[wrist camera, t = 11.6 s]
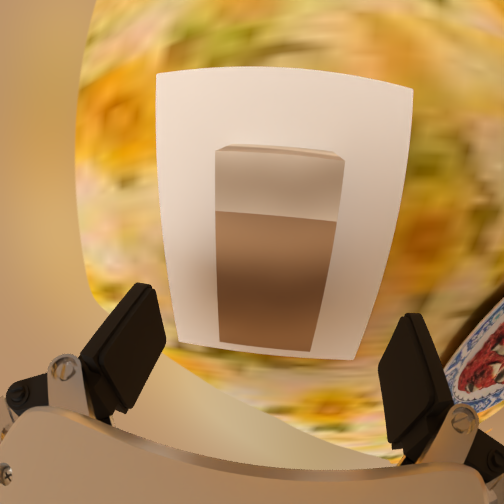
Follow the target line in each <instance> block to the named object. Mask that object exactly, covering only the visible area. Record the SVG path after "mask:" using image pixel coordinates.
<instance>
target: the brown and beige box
mask: <svg viewBox="0 0 504 504" xmlns="http://www.w3.org/2000/svg"><path fill="white" fill-rule="evenodd" d="M344 167H345V160H343V159H342V158H341V157H339V156H338V155H337V154H336V153H334V152H333V151H325V150H317V149H307V148H297V147H286V146H272V145H255V144H230V145H228V146H226V147H223V148H221V149H218V150H216V151H215V233H216V272H217V299H218V321H219V340H220V342H224V343H231V344H238V345H246V346H254V347H263V348H272V349H282V350H293V351H305V352H310V350H311V346H312V342H313V338H314V334H315V330H316V326H317V321H318V317H319V313H320V308H321V304H322V299H323V295H324V290H325V285H326V280H327V275H328V270H329V265H330V260H331V254H332V249H333V243H334V237H335V231H336V225H337V219H338V212H339V205H340V198H341V191H342V183H343V175H344Z"/></svg>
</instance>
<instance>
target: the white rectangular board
mask: <svg viewBox="0 0 504 504" xmlns="http://www.w3.org/2000/svg"><path fill="white" fill-rule="evenodd" d="M412 108H413V89H411V88H408V87H404V86H400V85H396V84H392V83H388V82H384V81H379V80H375V79H370V78H365V77H360V76H354V75H348V74H342V73H335V72H327V71H319V70H310V69H298V68H283V67H218V68H203V69H191V70H182V71H174V72H166V73H159V74H156V149H157V171H158V188H159V201H160V213H161V223H162V233H163V242H164V251H165V259H166V266H167V274H168V281H169V287H170V294H171V300H172V306H173V312H174V318H175V323H176V329H177V334H178V339H179V342H184V343H190V344H196V345H201V346H207V347H214V348H220V349H227V350H234V351H242V352H250V353H258V354H267V355H277V356H289V357H301V358H317V359H338V360H354V358H355V355H356V353H357V350H358V348H359V345H360V342H361V340H362V337H363V335H364V332H365V329H366V326H367V324H368V321H369V318H370V315H371V312H372V309H373V306H374V303H375V300H376V297H377V294H378V291H379V287H380V284H381V281H382V277H383V274H384V270H385V267H386V263H387V259H388V256H389V252H390V248H391V244H392V240H393V236H394V231H395V227H396V222H397V218H398V213H399V208H400V203H401V198H402V192H403V186H404V180H405V174H406V167H407V160H408V152H409V143H410V134H411V122H412ZM230 144H255V145H272V146H286V147H297V148H307V149H317V150H325V151H333V152H334V153H336V154H337V155H338V156H339V157H341V158H342V159H343V160H345V167H344V175H343V183H342V191H341V198H340V205H339V212H338V219H337V225H336V231H335V237H334V243H333V249H332V254H331V260H330V265H329V270H328V275H327V280H326V285H325V290H324V295H323V299H322V304H321V308H320V313H319V317H318V321H317V326H316V330H315V334H314V338H313V342H312V346H311V350H310V352H305V351H293V350H282V349H272V348H263V347H254V346H246V345H238V344H231V343H224V342H220V340H219V321H218V299H217V272H216V233H215V151H216V150H218V149H221V148H223V147H226V146H228V145H230Z"/></svg>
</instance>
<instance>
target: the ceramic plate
mask: <svg viewBox="0 0 504 504" xmlns="http://www.w3.org/2000/svg"><path fill="white" fill-rule="evenodd" d="M443 370H444V373H445V376H446V379H447V382H448V385H449V388H450V391H451V395H452V398H453V401H454V405H456V404H459V403H464V404H467V405H470V406H471V407H472V408H473V409H474V410H475V411H476V413H479V412H482V411H484V410H486V409H488V408H490V407H492V406H494V405H496V404H498V403H500V402H501V401H503V400H504V297H503V298H502V299H501V300H500V301H499V302H498V303H497V304H496V305H495V306H494V307H493V309H492V310H491V311H490V312H489V313H488V314H487V315H486V316H485V317H484V318H483V319H482V320H481V321H480V322H479V324H478V325H477V326H476V327H475V328H474V330H473V331H472V332H471V333H470V334H469V335H468V336H467V338H466V339H465V340H464V341H463V342H462V344H461V345H460V346H459V348H458V349H457V350H456V352H455V353H454V354H453V356H452V357H451V358H450V360H449V361H448V363H447V364H446V366H445V367H444V369H443Z"/></svg>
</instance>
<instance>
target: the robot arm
mask: <svg viewBox="0 0 504 504" xmlns="http://www.w3.org/2000/svg"><path fill="white" fill-rule="evenodd" d="M165 344H166V335H165V331H164V327H163V322H162V318H161V314H160V309H159V304H158V300H157V295H156V291H155V289H152V286H151V285H149V284H144V283H136V284H134V286H133V287H132V288H131V289H130V290H129V292H128V293H127V294H126V295H125V296H124V298H123V299H122V300H121V301H120V302H119V304H118V305H117V306H116V307H115V309H114V310H113V311H112V312H111V314H110V315H109V316H108V317H107V319H106V320H105V321H104V323H103V324H102V325H101V326H100V328H99V329H98V330H97V331H96V333H95V334H94V335H93V337H92V338H91V340H90V341H89V342H88V343H87V345H86V346H85V347H84V349H83V350H82V351H81V353H80V354H81V355H80V356H79V357H78V358H77V357H76V356H74V355H72V354H63V355H60V356H58V357H56V358H55V359H54V360H53V361H52V362H51V363H50V365H49V367H48V372H47V373H45V374H41V375H38V376H34V377H32V378H28V379H24V380H20V381H17V382H15V383H13V384H12V385H11V386H10V387H9V389H8V391H7V393H6V398H5V397H4V396H2V397H0V504H504V446H503V445H502V444H500V443H499V442H497V441H496V440H494V439H493V438H491V437H490V436H489V435H487V434H486V433H484V432H483V431H481V430H480V429H478V425H479V418H478V415H477V413H476V411H475V410H474V409H473V408H472V407H471V406H470V405H467V404H464V403H459V404H456V405H454V401H453V398H452V395H451V391H450V388H449V385H448V382H447V379H446V376H445V373H444V370H443V367H442V365H441V362H440V359H439V356H438V354H437V351H436V348H435V346H434V343H433V341H432V338H431V336H430V333H429V331H428V329H427V326H426V324H425V322H424V319H423V317H422V315H421V314H420V313H406V314H405V316H404V317H401V318H400V320H399V322H398V324H397V327H396V329H395V331H394V333H393V336H392V338H391V340H390V342H389V344H388V346H387V348H386V350H385V352H384V354H383V356H382V358H381V360H380V362H379V365H378V374H379V379H380V385H381V392H382V398H383V405H384V413H385V420H386V429H387V439H388V442H389V443H392V450H394V449H402V448H403V453H404V456H403V457H402V458H401V460H400V461H399V463H398V464H397V466H395V467H385V468H373V469H358V470H302V469H301V470H300V469H285V468H275V467H265V466H258V465H251V464H243V463H238V462H232V461H227V460H221V459H217V458H212V457H207V456H203V455H199V454H195V453H191V452H187V451H183V450H179V449H176V448H173V447H169V446H166V445H162V444H159V443H156V442H153V441H150V440H147V439H145V438H142V437H139V436H136V435H133V434H131V433H128V432H125V431H123V430H120V429H118V428H116V426H115V423H114V419H113V416H112V415H113V413H114V411H115V410H117V411H119V412H122V413H124V414H126V413H127V411H128V409H131V408H133V406H134V404H135V402H136V401H137V399H138V396H139V394H140V393H141V391H142V389H143V387H144V385H145V383H146V381H147V379H148V377H149V375H150V373H151V371H152V369H153V367H154V366H155V364H156V362H157V360H158V358H159V356H160V354H161V352H162V350H163V349H164V347H165Z"/></svg>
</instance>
